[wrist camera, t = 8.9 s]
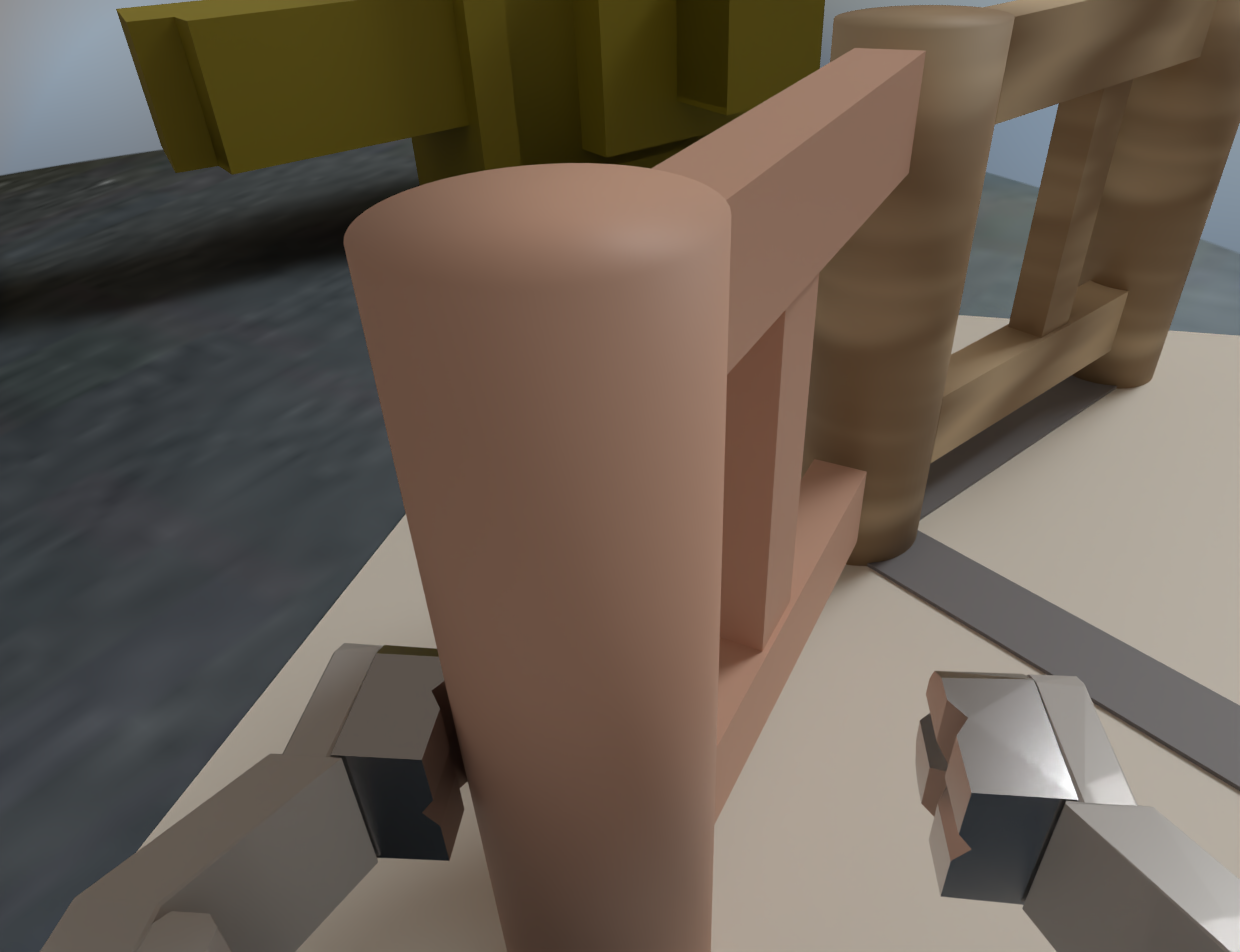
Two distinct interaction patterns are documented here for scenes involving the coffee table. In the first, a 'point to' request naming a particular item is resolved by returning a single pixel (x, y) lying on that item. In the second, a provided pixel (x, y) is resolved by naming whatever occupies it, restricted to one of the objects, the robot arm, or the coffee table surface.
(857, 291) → the fence fixed
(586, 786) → the fence panel
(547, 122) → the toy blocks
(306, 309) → the coffee table surface
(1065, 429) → the card
